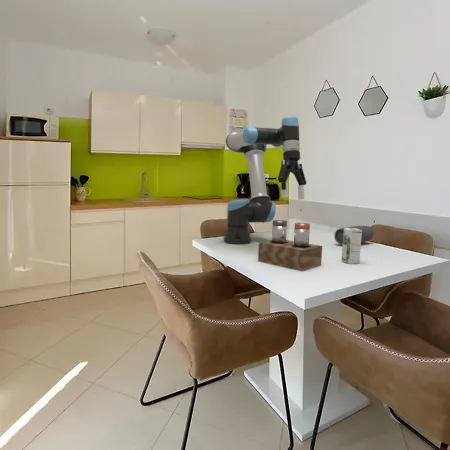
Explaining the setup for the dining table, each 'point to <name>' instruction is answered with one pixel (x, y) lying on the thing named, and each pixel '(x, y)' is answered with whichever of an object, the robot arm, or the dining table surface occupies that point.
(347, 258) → the syrup box
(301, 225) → the red lid glass jar
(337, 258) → the dining table surface
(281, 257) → the wooden jar holder
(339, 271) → the dining table surface
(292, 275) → the dining table surface
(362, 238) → the bluetooth speaker
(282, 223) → the grey lid glass jar
